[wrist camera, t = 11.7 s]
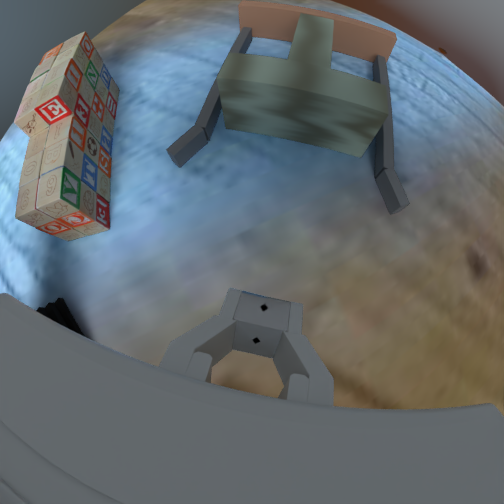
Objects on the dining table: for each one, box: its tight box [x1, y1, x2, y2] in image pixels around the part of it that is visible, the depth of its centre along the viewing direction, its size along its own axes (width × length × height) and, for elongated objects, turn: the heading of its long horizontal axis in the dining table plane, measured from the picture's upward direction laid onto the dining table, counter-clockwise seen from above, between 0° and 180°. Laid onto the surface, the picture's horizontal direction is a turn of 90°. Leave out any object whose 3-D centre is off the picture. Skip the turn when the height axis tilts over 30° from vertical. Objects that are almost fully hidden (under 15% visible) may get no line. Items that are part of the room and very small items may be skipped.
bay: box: [166, 1, 410, 214], centre depth 26 cm, size 24×27×6 cm
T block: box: [217, 13, 389, 158], centre depth 25 cm, size 15×15×8 cm
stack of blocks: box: [14, 32, 119, 241], centre depth 22 cm, size 21×6×12 cm, turn 11°
